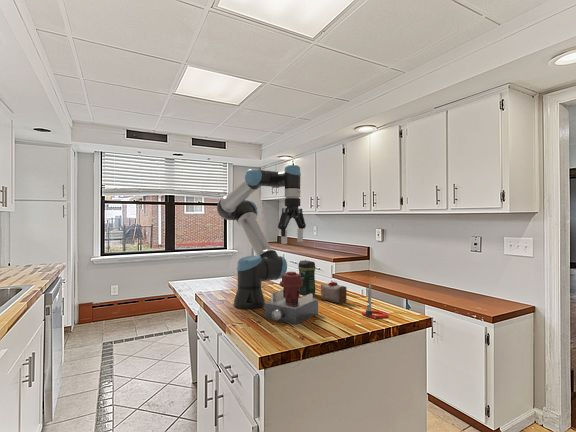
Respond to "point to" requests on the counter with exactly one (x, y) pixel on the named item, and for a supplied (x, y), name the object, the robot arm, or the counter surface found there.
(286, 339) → the counter surface
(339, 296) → the food item
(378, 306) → the counter surface
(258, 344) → the counter surface
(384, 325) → the counter surface
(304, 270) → the coffee jar
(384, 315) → the tow hook
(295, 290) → the mechanical component
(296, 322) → the motor housing
